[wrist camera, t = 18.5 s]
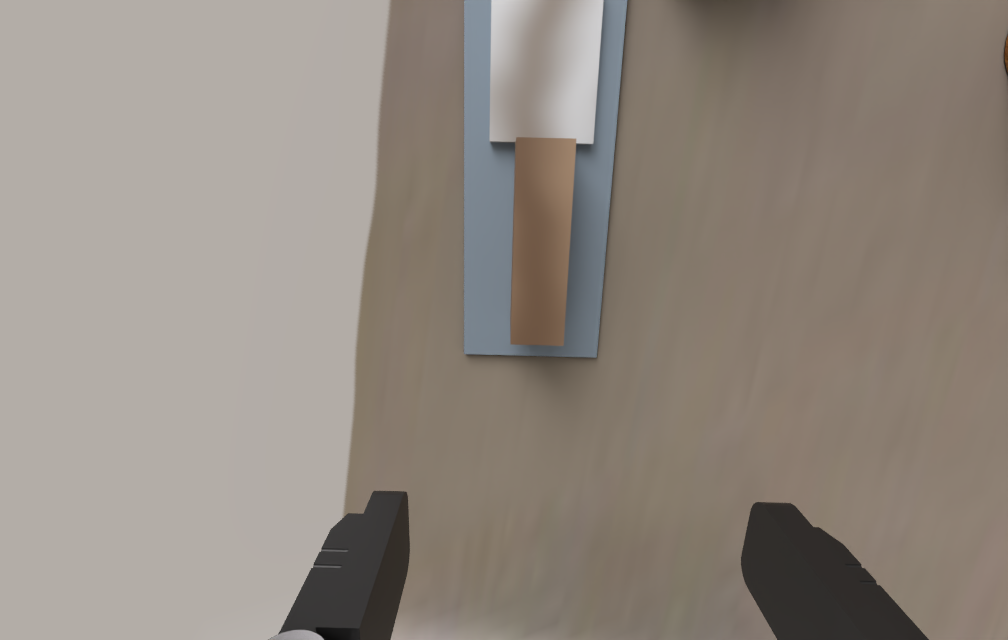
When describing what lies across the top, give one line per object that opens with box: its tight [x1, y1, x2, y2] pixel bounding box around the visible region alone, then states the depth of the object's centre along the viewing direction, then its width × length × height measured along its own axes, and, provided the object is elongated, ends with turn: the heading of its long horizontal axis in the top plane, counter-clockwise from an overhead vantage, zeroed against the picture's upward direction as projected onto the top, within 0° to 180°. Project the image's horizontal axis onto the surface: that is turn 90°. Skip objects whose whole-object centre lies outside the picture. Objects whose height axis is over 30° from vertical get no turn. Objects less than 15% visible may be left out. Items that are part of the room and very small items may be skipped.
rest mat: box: [464, 0, 627, 358], centre depth 30 cm, size 9×22×1 cm, turn 179°
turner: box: [490, 0, 604, 346], centre depth 27 cm, size 6×19×5 cm, turn 179°
